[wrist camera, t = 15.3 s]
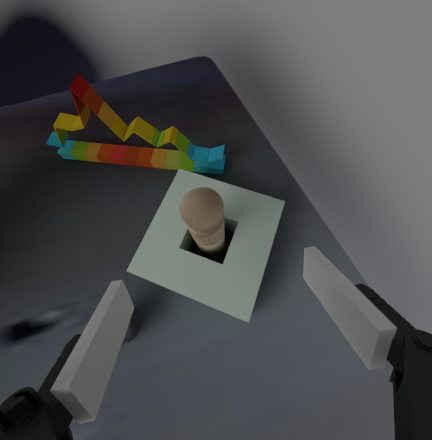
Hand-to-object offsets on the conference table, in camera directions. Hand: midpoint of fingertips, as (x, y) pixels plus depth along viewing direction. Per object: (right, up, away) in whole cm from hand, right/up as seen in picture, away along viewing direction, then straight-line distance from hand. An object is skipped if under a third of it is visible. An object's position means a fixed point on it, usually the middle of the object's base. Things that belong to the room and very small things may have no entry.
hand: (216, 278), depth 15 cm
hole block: (-1, +1, +17) cm, 17 cm away
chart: (-14, +15, +23) cm, 31 cm away
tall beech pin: (-1, +1, +17) cm, 17 cm away
